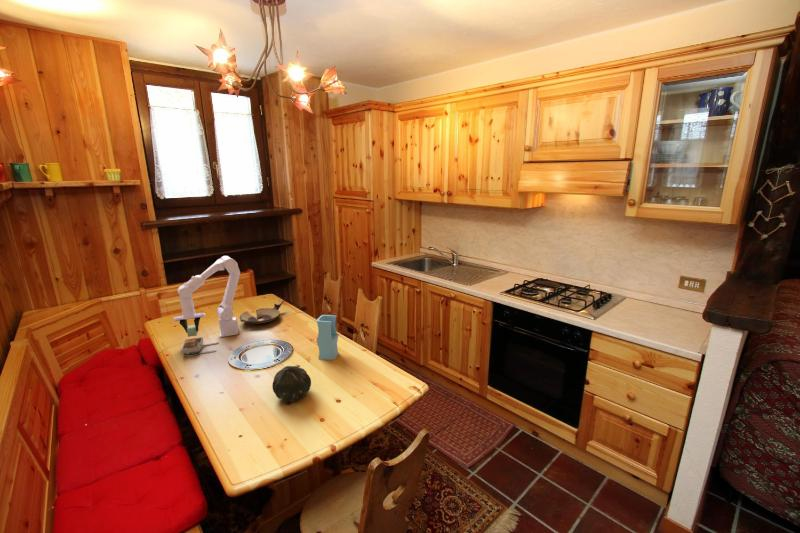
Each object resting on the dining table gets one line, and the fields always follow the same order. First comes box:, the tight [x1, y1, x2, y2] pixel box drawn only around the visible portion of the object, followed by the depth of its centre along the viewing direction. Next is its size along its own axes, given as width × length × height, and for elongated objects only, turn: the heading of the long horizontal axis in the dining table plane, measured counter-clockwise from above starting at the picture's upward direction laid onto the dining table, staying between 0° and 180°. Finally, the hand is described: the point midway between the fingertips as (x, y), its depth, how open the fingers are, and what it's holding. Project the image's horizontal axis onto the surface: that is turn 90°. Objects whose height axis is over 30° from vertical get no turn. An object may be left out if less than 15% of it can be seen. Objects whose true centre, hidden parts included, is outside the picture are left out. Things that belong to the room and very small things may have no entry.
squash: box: [271, 365, 312, 404], centre depth 147 cm, size 14×15×15 cm
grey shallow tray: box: [180, 337, 204, 356], centre depth 186 cm, size 8×11×4 cm
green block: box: [186, 324, 199, 338], centre depth 194 cm, size 4×4×4 cm
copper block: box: [184, 337, 197, 348], centre depth 183 cm, size 4×4×4 cm
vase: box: [316, 314, 339, 361], centre depth 177 cm, size 8×8×20 cm
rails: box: [182, 341, 220, 358], centre depth 188 cm, size 15×10×1 cm
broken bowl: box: [239, 299, 284, 325], centre depth 222 cm, size 22×30×8 cm
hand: (192, 331), depth 194 cm, fingers closed on green block, 4 cm apart
